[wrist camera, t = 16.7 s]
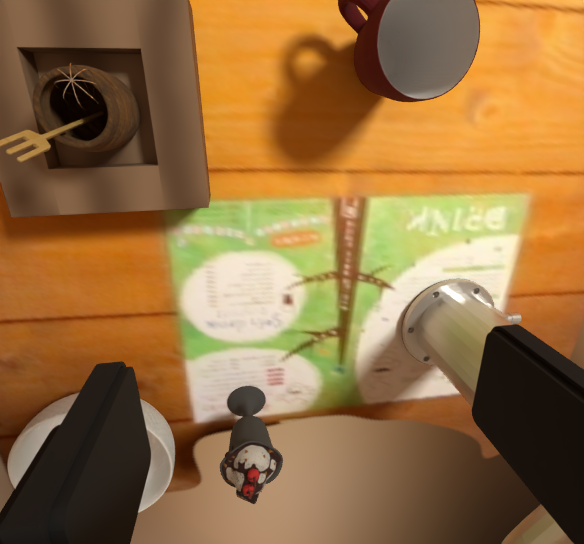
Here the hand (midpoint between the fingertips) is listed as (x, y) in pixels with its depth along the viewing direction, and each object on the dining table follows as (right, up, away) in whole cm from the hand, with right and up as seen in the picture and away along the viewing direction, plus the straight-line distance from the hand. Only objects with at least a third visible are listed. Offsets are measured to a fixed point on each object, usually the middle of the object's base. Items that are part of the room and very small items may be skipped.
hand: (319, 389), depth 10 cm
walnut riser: (-17, +18, +24) cm, 34 cm away
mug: (+6, +24, +26) cm, 36 cm away
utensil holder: (-17, +17, +21) cm, 32 cm away
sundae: (-7, -14, +39) cm, 42 cm away
